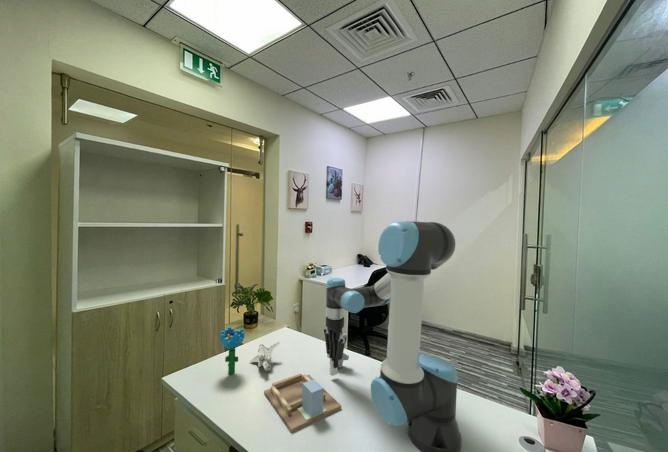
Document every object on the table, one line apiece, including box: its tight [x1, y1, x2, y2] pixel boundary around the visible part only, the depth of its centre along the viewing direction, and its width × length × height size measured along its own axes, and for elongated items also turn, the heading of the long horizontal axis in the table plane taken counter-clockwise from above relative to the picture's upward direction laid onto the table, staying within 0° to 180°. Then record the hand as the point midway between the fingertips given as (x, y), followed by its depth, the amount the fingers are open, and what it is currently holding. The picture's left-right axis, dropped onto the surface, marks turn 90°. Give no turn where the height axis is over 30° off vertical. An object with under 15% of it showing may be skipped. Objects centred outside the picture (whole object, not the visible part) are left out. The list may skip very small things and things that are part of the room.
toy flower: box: [219, 326, 245, 376], centre depth 111 cm, size 9×9×18 cm
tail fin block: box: [302, 378, 325, 417], centre depth 89 cm, size 6×4×8 cm
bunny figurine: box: [326, 333, 350, 369], centre depth 118 cm, size 10×5×15 cm, turn 78°
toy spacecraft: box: [249, 341, 280, 372], centre depth 115 cm, size 8×15×15 cm
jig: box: [263, 373, 342, 434], centre depth 95 cm, size 22×19×3 cm
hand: (333, 374), depth 109 cm, fingers closed
